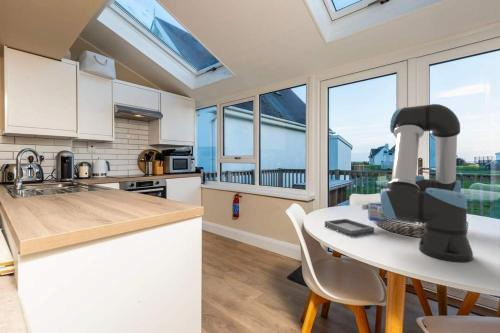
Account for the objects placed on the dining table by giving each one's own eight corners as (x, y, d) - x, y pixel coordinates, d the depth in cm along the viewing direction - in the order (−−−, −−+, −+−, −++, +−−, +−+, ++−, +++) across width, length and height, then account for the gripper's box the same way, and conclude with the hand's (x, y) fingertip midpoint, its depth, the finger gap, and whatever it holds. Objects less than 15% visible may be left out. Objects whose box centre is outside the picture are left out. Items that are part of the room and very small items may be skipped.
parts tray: (374, 232, 112) (374, 227, 112) (351, 236, 107) (351, 230, 107) (345, 223, 129) (345, 218, 129) (324, 226, 124) (324, 221, 124)
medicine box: (369, 220, 117) (369, 203, 117) (367, 218, 122) (367, 201, 121) (387, 221, 115) (387, 203, 115) (384, 219, 119) (385, 202, 119)
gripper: (423, 217, 115) (389, 221, 107) (384, 209, 135) (353, 212, 126) (423, 201, 115) (389, 204, 107) (384, 195, 134) (353, 197, 126)
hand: (370, 208), depth 116 cm, fingers closed on medicine box, 8 cm apart
